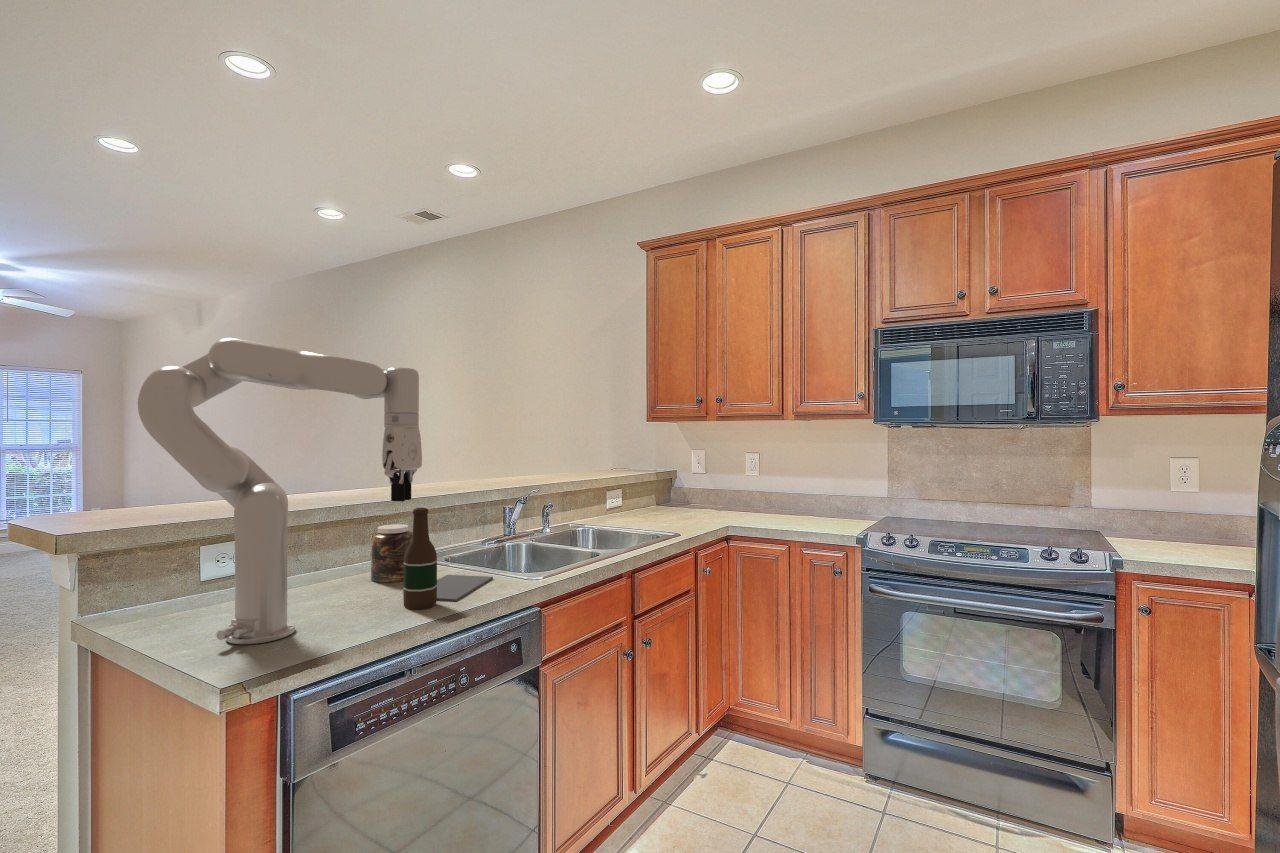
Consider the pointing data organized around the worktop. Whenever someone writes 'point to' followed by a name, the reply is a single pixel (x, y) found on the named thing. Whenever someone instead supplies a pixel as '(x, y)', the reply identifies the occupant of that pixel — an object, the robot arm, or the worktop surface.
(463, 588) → the mat
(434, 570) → the beer bottle
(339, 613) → the worktop surface
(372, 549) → the jar
